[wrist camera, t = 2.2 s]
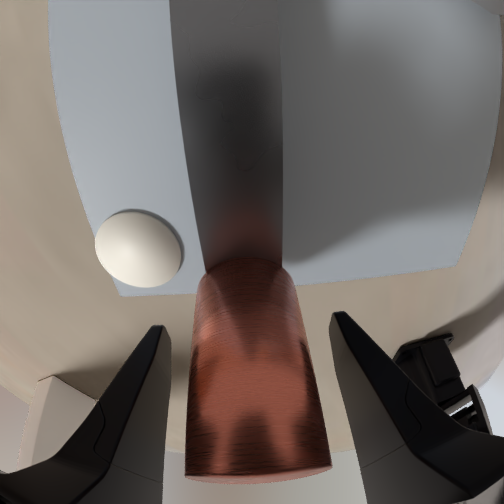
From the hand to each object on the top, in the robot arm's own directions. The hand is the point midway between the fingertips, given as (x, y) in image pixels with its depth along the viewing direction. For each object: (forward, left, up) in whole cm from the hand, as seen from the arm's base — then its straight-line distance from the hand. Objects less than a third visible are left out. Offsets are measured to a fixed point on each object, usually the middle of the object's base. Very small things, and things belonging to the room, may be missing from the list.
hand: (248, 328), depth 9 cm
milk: (-19, +23, -5) cm, 30 cm away
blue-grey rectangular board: (+10, -3, -5) cm, 12 cm away
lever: (+9, 0, -3) cm, 9 cm away
